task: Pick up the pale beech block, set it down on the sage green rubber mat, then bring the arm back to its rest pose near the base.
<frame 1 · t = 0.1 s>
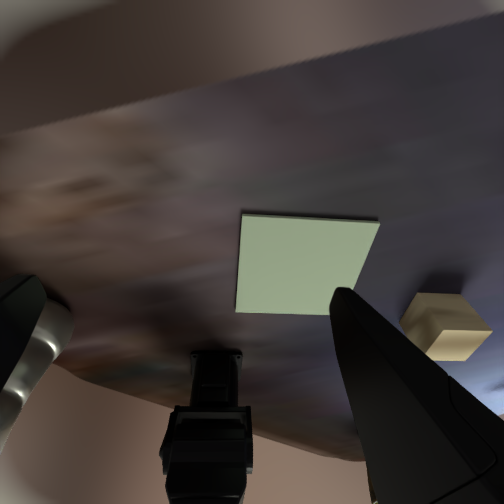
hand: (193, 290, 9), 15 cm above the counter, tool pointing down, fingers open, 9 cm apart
sage mat: (298, 270, 28), on the counter
silver ribbed metal bottle: (50, 308, 30), on the counter
beech block: (428, 308, 32), on the counter
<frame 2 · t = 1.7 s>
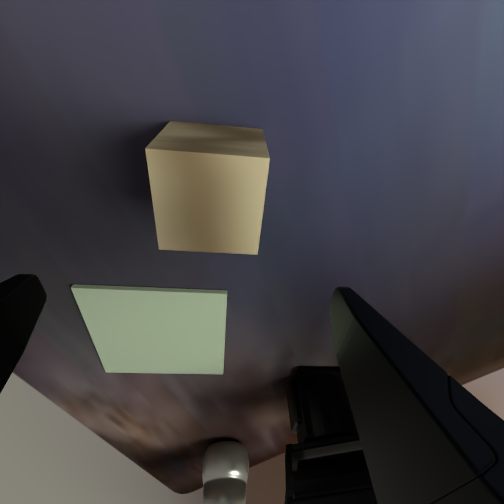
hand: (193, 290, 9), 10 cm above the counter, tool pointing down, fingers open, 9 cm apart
sage mat: (160, 334, 26), on the counter
silver ribbed metal bottle: (226, 441, 42), on the counter
beech block: (216, 169, 17), on the counter
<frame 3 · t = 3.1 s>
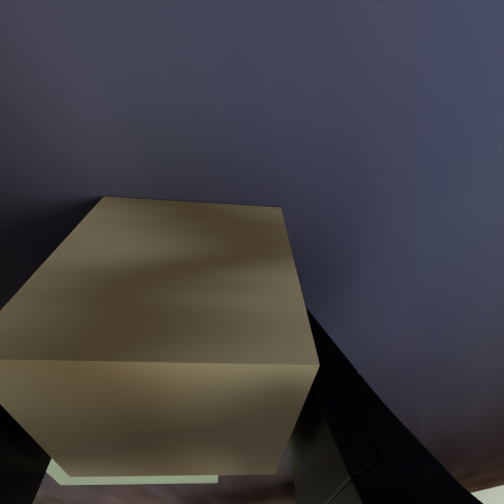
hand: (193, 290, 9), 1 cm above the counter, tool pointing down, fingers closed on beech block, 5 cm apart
sage mat: (128, 449, 19), on the counter
beech block: (197, 268, 9), on the counter, touching gripper
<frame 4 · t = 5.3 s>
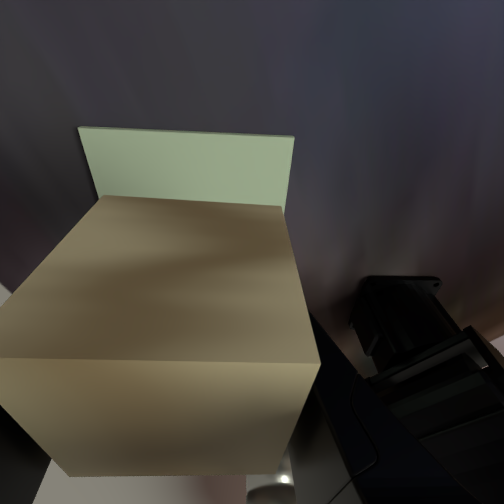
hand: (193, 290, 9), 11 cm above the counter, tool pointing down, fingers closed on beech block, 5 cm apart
sage mat: (196, 221, 19), on the counter
silver ribbed metal bottle: (265, 396, 36), on the counter
beech block: (197, 267, 9), point 10 cm above the counter, touching gripper
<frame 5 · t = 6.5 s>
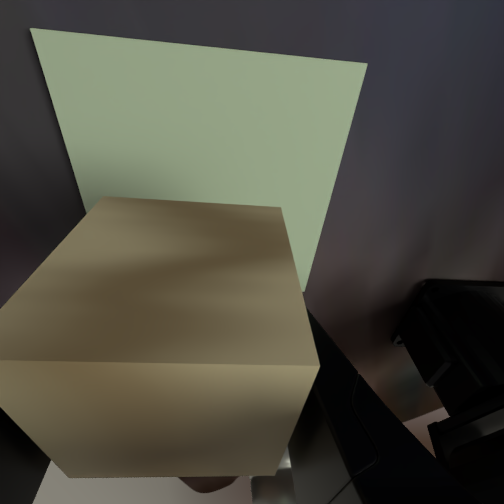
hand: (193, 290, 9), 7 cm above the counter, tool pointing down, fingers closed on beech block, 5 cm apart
sage mat: (208, 195, 14), on the counter
silver ribbed metal bottle: (275, 419, 30), on the counter
beech block: (197, 268, 9), point 6 cm above the counter, touching gripper
when the fingers open (2 cm above the counter, at t = 7.6 s): beech block drops 1 cm, resting on sage mat.
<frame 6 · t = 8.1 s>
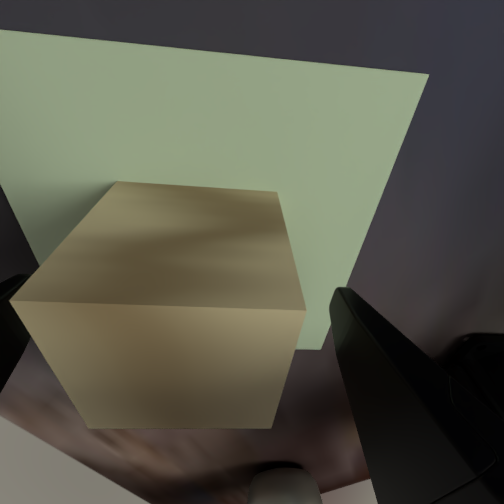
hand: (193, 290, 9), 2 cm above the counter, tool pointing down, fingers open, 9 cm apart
sage mat: (201, 243, 11), on the counter
silver ribbed metal bottle: (281, 466, 27), on the counter
beech block: (200, 250, 10), resting on sage mat
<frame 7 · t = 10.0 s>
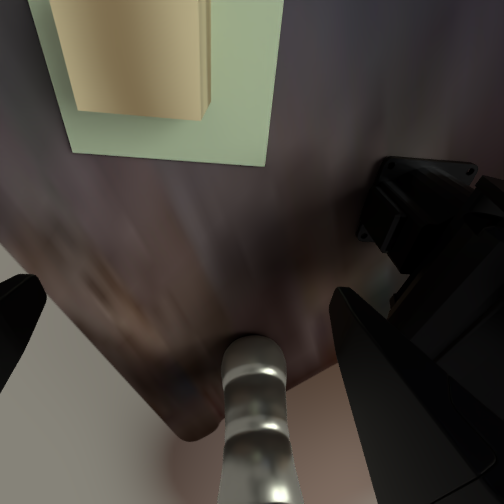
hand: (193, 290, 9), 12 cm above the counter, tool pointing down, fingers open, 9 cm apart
sage mat: (162, 42, 14), on the counter
silver ribbed metal bottle: (252, 344, 31), on the counter
beech block: (161, 42, 14), resting on sage mat
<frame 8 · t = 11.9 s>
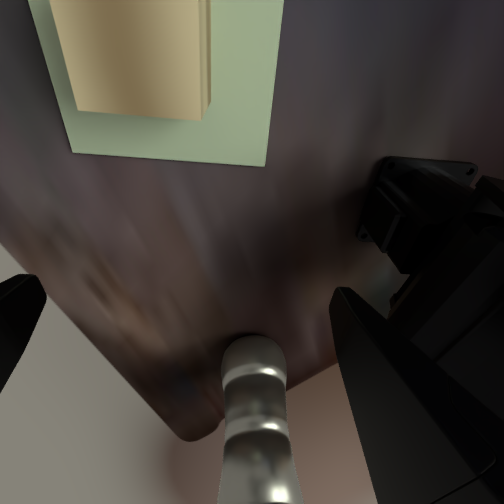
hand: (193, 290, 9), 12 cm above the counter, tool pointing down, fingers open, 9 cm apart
sage mat: (162, 42, 14), on the counter
silver ribbed metal bottle: (252, 343, 31), on the counter
beech block: (161, 42, 14), resting on sage mat
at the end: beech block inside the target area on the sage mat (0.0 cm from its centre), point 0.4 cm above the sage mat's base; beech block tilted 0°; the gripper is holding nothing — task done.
